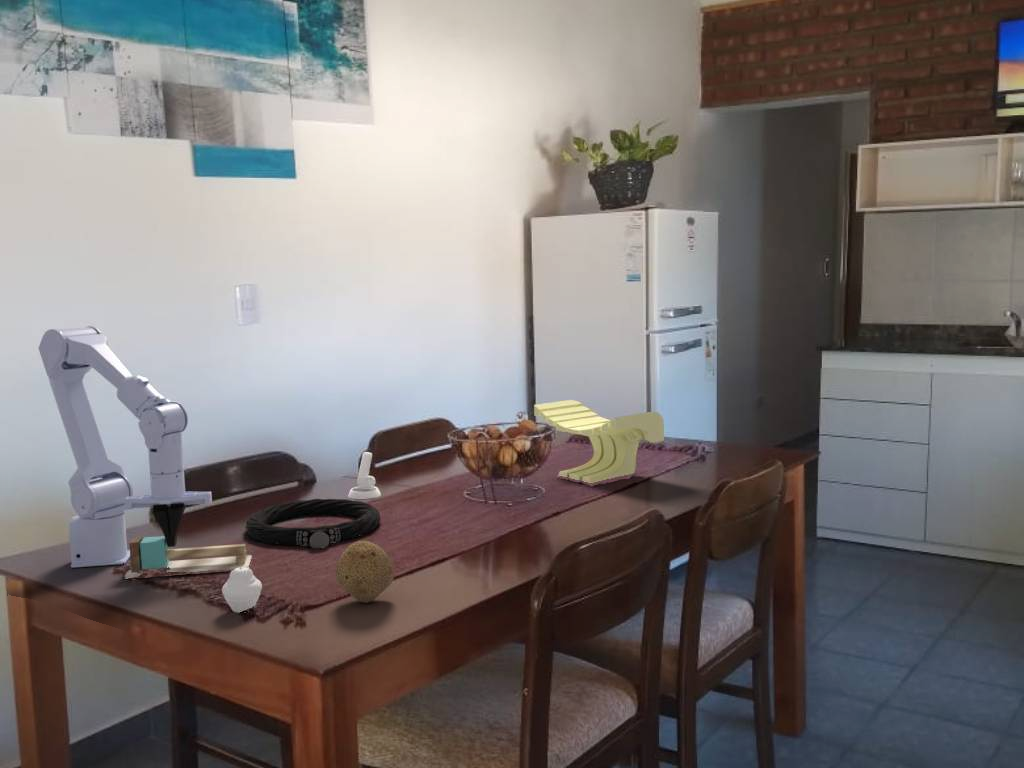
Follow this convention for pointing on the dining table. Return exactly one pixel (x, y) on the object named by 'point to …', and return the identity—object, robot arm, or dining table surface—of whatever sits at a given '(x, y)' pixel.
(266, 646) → the dining table surface
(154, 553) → the slider
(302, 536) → the cable lock
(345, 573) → the natural sponge
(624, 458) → the slatted curved stool
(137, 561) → the rail
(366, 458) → the white joystick
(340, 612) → the dining table surface
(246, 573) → the white faceted lump
